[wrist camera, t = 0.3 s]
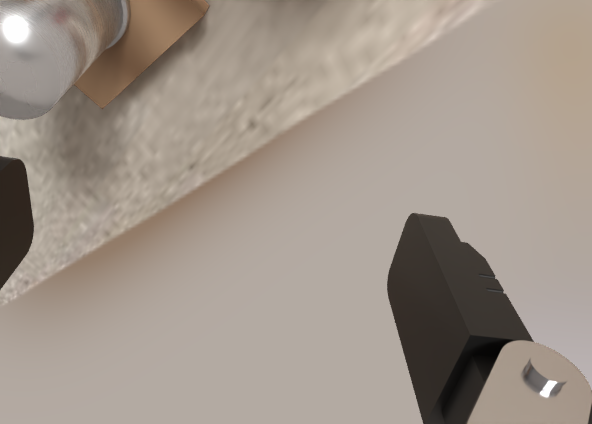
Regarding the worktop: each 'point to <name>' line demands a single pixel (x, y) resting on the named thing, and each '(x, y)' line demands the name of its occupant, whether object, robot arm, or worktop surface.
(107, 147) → the worktop surface
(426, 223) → the robot arm
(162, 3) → the stand
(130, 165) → the worktop surface
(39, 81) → the clear tapered piece
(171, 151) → the worktop surface
